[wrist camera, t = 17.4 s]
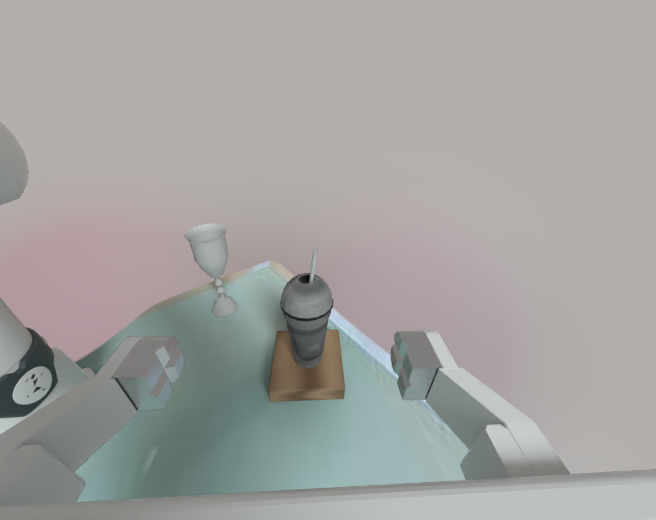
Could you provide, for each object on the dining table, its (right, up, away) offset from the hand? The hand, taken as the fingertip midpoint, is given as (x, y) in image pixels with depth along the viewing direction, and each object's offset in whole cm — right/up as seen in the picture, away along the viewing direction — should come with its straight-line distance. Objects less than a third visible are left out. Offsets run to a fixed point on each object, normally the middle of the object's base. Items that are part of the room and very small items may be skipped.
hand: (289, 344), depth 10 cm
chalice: (-21, -7, +45) cm, 50 cm away
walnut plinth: (-2, -15, +33) cm, 36 cm away
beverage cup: (-2, -13, +31) cm, 34 cm away
